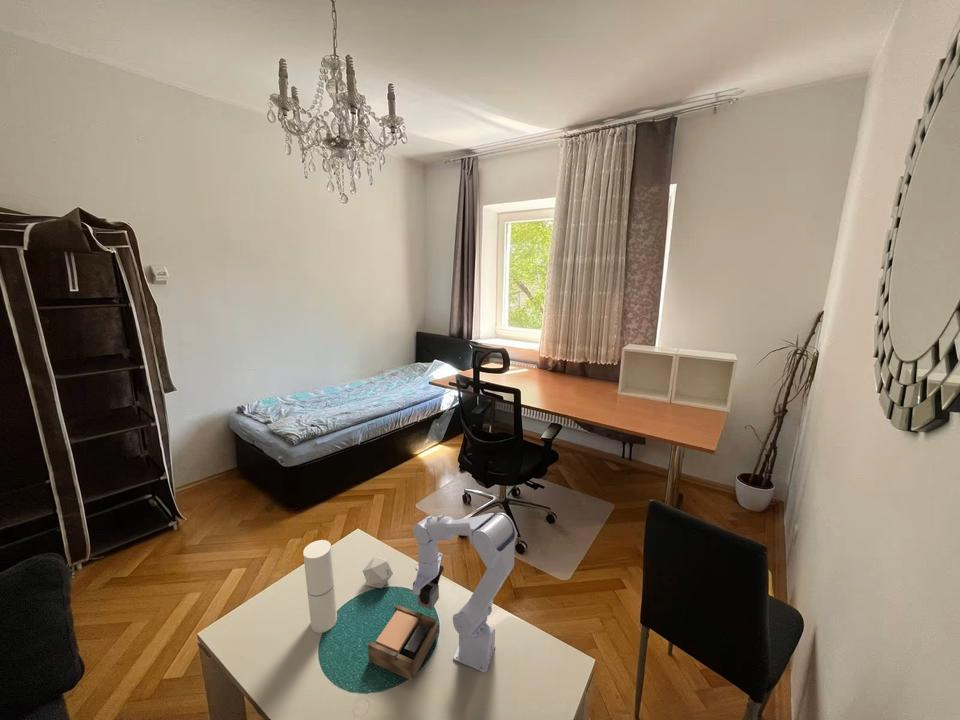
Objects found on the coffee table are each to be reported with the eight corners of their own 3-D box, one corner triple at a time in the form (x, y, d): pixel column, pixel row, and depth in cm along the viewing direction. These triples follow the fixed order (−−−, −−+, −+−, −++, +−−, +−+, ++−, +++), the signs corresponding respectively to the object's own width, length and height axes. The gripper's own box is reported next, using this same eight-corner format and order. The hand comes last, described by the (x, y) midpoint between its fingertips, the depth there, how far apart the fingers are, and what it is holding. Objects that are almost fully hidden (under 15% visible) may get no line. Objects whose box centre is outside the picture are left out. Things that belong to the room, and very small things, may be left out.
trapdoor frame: (439, 635, 106) (438, 619, 105) (414, 682, 94) (413, 664, 93) (397, 619, 111) (396, 603, 110) (368, 661, 99) (367, 644, 98)
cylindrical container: (305, 629, 108) (297, 555, 102) (321, 608, 114) (314, 538, 109) (327, 635, 106) (320, 560, 100) (342, 613, 113) (336, 542, 107)
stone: (438, 597, 112) (438, 585, 111) (431, 609, 108) (431, 596, 107) (425, 593, 114) (425, 580, 113) (418, 605, 110) (417, 592, 109)
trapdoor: (430, 630, 105) (430, 623, 104) (411, 664, 96) (411, 656, 95) (397, 617, 109) (397, 610, 108) (376, 648, 100) (375, 640, 99)
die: (368, 599, 119) (386, 577, 117) (352, 576, 122) (370, 554, 121) (385, 589, 126) (402, 568, 125) (369, 567, 130) (386, 546, 129)
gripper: (428, 537, 115) (429, 574, 119) (402, 570, 102) (404, 611, 105) (448, 543, 113) (449, 580, 116) (425, 578, 100) (426, 619, 103)
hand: (429, 595), depth 111 cm, fingers closed on stone, 4 cm apart
